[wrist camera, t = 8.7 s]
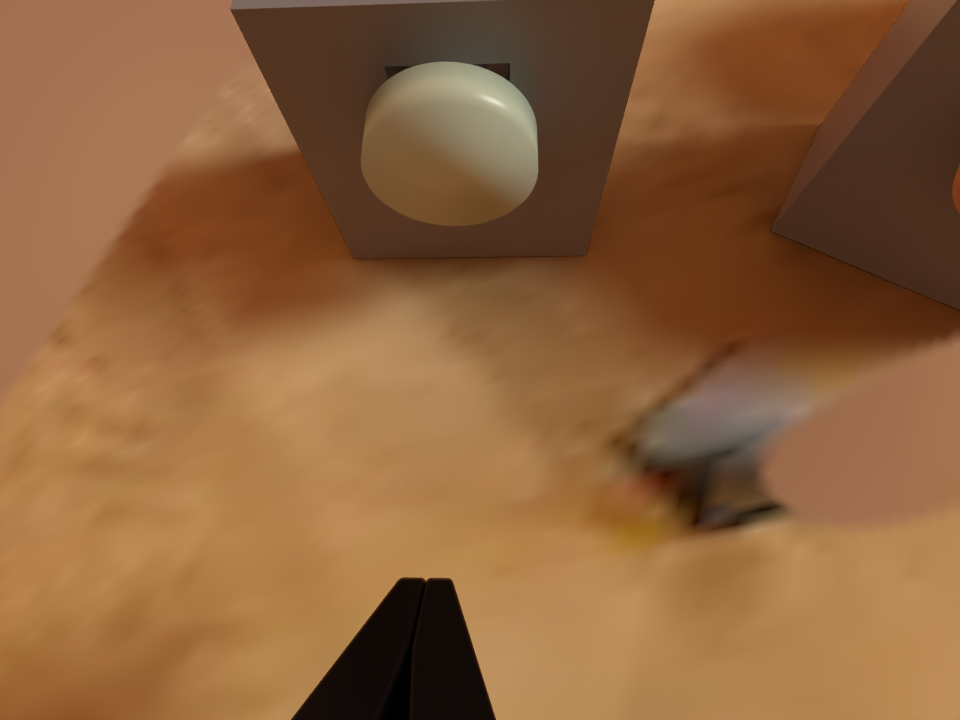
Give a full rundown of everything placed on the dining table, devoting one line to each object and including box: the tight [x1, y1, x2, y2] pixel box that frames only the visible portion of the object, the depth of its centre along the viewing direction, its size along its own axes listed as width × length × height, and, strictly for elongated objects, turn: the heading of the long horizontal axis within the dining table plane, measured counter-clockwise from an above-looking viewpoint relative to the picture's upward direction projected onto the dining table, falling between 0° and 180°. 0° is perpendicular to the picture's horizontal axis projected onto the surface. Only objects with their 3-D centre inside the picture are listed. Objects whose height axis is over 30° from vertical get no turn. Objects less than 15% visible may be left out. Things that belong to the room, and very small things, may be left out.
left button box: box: [230, 0, 655, 259], centre depth 17 cm, size 6×9×10 cm, turn 89°
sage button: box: [361, 62, 538, 226], centre depth 14 cm, size 6×4×4 cm
